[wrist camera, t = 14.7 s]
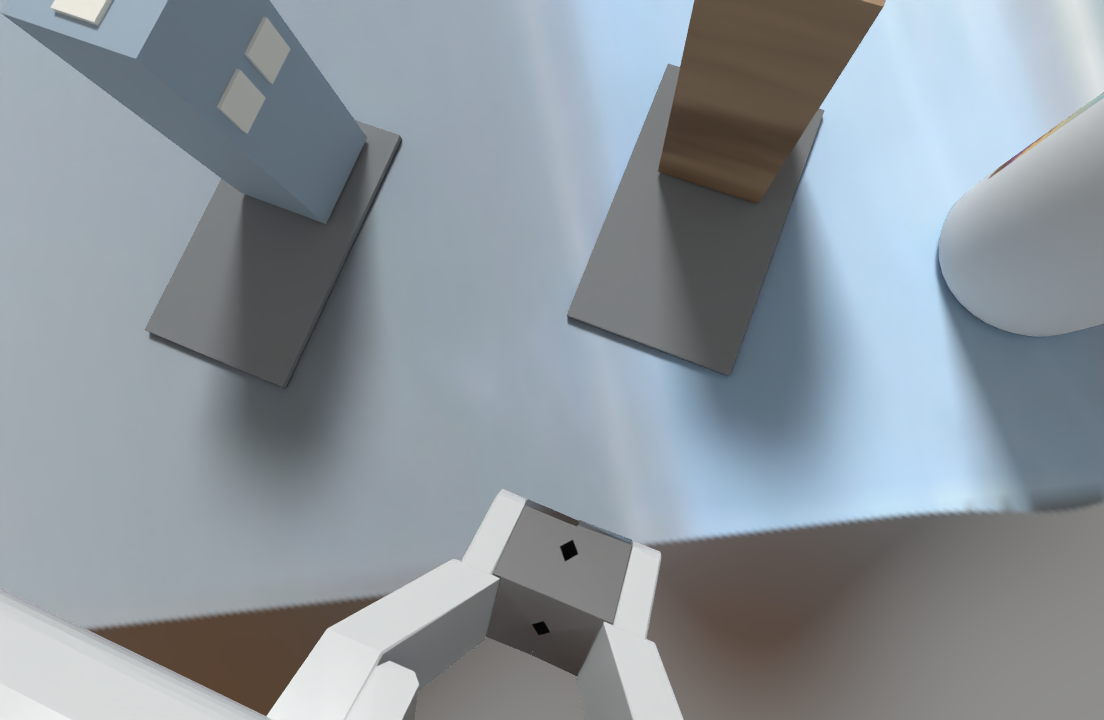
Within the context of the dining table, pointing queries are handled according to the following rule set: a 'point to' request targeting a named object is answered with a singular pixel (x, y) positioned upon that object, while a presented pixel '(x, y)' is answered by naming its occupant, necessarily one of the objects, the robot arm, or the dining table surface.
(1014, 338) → the dining table surface
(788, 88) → the wooden box
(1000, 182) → the milk bottle
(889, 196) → the dining table surface
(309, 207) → the rectangular block
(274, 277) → the grey flat block
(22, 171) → the dining table surface
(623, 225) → the grey rectangular plate
